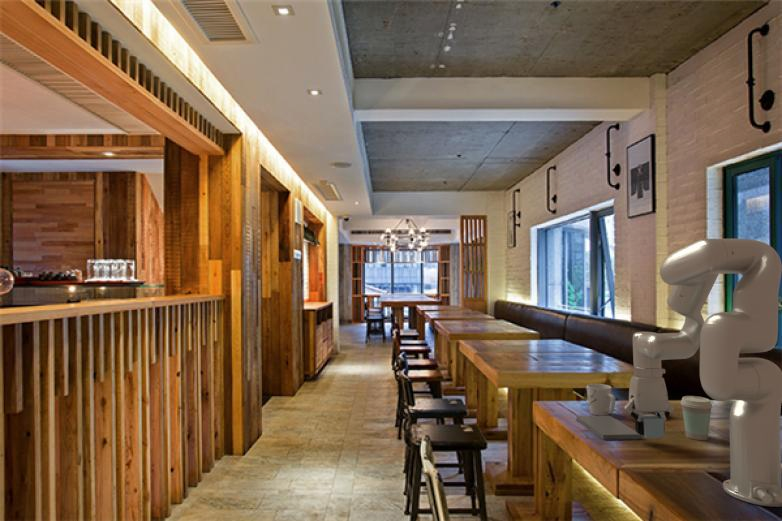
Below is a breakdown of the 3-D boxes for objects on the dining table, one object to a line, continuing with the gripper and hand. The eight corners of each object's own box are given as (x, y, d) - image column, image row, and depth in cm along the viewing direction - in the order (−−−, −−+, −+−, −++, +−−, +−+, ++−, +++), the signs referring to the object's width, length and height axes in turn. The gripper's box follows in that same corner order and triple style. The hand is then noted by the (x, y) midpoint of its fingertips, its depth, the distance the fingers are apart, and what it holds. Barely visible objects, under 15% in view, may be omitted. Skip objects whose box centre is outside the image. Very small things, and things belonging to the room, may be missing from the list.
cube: (664, 437, 146) (663, 419, 147) (646, 438, 146) (645, 419, 146) (653, 432, 152) (653, 414, 152) (636, 433, 152) (635, 414, 152)
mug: (623, 417, 177) (623, 389, 177) (605, 420, 173) (605, 391, 174) (599, 409, 187) (599, 382, 187) (581, 411, 184) (581, 384, 184)
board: (641, 439, 153) (641, 434, 154) (603, 439, 153) (603, 434, 153) (610, 420, 173) (610, 415, 174) (576, 420, 173) (576, 416, 173)
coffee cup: (718, 442, 150) (717, 403, 151) (687, 440, 152) (686, 401, 152) (706, 433, 159) (705, 396, 159) (676, 432, 160) (676, 394, 161)
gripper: (667, 370, 154) (670, 429, 153) (613, 371, 154) (616, 431, 152) (682, 374, 147) (685, 436, 146) (626, 375, 146) (628, 438, 145)
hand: (650, 433), depth 149 cm, fingers closed on cube, 5 cm apart
